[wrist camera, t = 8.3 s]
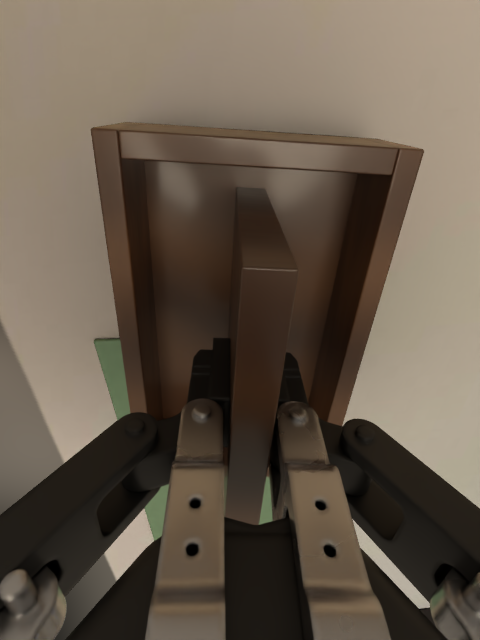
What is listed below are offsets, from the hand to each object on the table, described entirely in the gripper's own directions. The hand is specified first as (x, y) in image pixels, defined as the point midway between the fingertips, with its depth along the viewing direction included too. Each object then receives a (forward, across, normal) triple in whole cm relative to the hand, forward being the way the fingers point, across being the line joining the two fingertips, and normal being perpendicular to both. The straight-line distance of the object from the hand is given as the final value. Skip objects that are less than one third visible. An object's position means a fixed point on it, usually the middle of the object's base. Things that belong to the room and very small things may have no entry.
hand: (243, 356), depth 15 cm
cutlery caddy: (+4, 0, 0) cm, 4 cm away
